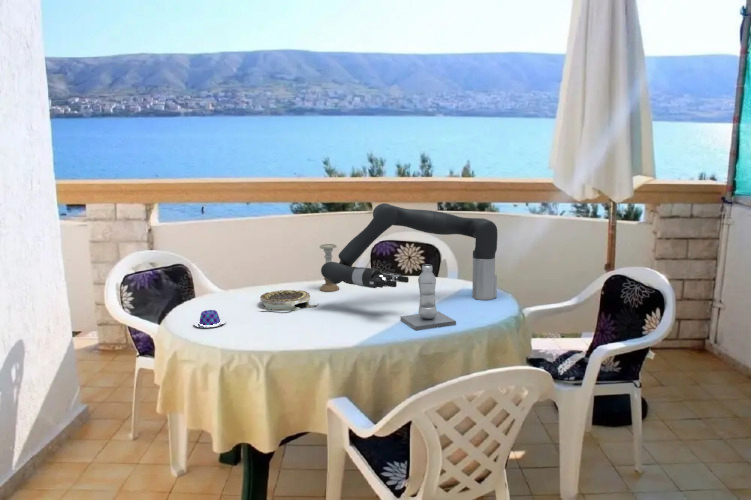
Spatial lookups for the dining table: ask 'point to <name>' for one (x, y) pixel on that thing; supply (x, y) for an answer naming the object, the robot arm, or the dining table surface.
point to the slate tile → (427, 321)
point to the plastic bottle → (427, 293)
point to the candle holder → (328, 256)
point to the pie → (285, 300)
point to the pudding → (209, 317)
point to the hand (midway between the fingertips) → (402, 282)
